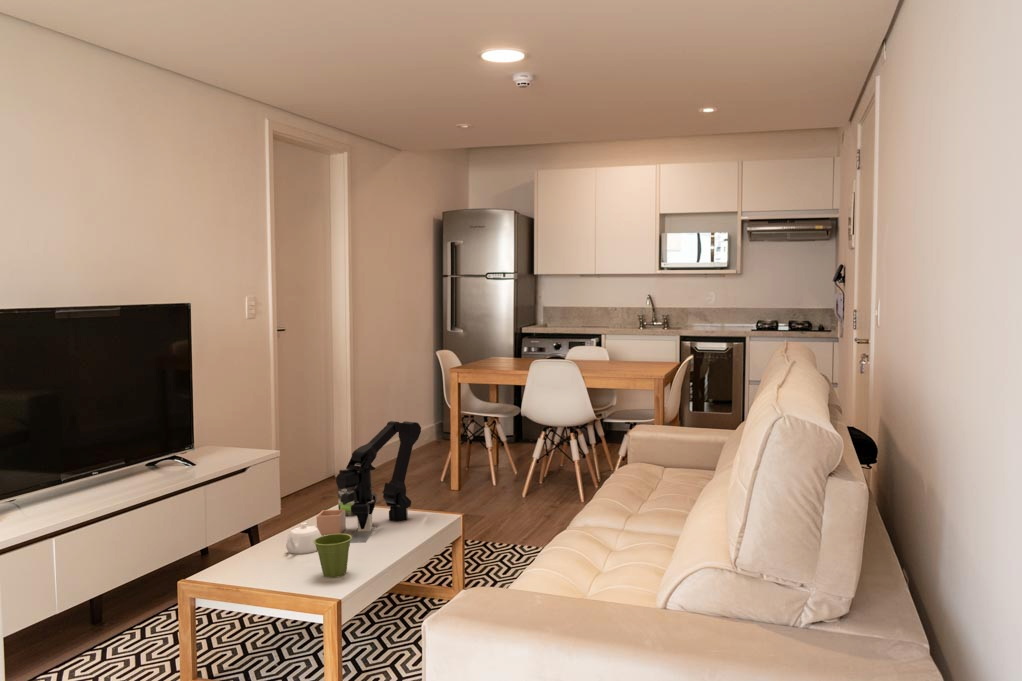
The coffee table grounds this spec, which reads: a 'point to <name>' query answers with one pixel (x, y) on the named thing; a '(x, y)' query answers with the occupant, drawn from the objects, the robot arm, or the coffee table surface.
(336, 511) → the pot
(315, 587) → the coffee table surface
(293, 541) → the teapot
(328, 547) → the plant pot
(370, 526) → the block
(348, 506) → the coffee can
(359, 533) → the slate board
